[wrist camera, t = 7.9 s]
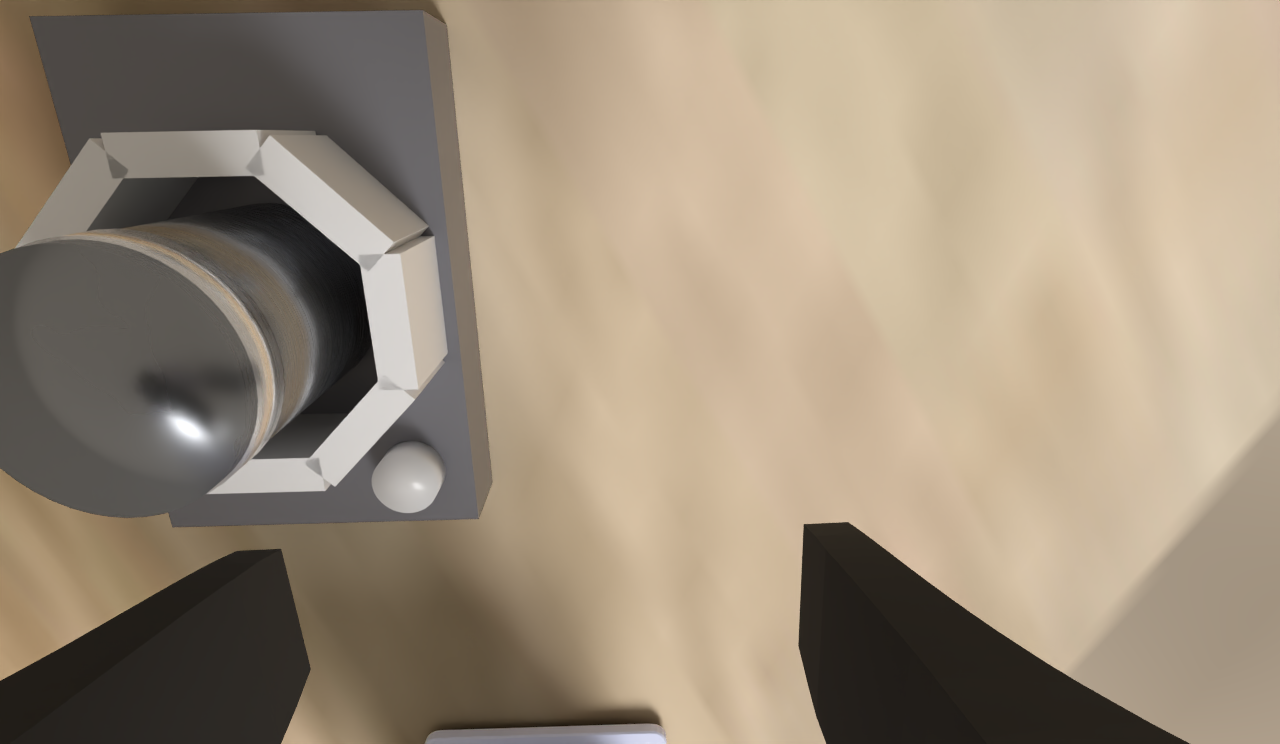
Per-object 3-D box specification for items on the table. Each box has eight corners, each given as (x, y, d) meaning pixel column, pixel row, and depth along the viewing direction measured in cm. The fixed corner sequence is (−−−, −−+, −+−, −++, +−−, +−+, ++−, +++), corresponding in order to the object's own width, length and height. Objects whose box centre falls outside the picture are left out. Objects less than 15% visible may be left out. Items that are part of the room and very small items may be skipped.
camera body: (492, 482, 20) (456, 577, 16) (215, 489, 20) (103, 587, 15) (446, 24, 16) (382, -16, 12) (100, 30, 16) (-93, -9, 12)
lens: (399, 378, 17) (283, 504, 11) (218, 398, 17) (9, 534, 11) (354, 190, 15) (192, 222, 9) (155, 212, 15) (-123, 258, 10)
